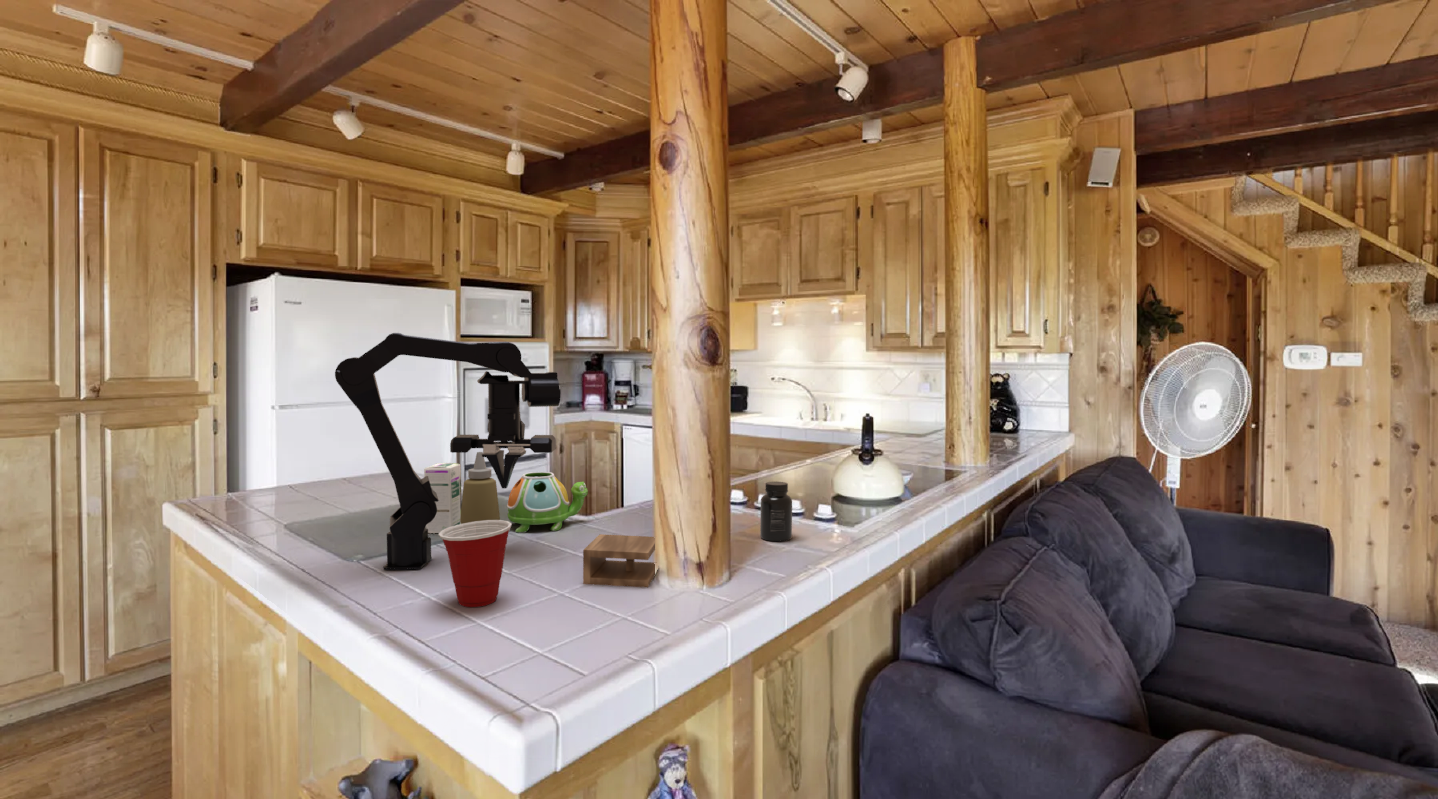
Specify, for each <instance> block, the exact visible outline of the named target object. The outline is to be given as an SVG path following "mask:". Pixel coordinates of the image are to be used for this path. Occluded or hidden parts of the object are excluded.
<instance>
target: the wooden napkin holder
mask: <svg viewBox="0 0 1438 799" xmlns="http://www.w3.org/2000/svg"><path fill="white" fill-rule="evenodd" d="M654 537H655V536H643V535H624V534H623V535H622V534H620V535H619V534H600V533H599V535H597V536H596V537H595V538H593V540H592V541H591V542H590V543H589V544H588V545H587V546H586V547H585V548H584V549H583V551H582V555H583V557H582V562H583V563H582V564H583V565H582V569H583V570H582V574H583V575H582V579H583V580H582V584H583V585H593V584H594V586H595V585H597V586H612V587H613V586H614V587H615V586H616V587H633V588H636V587H637V588H648V587H649V586H650V584H651V583H652V581H653V580H654V578H655V576H656V575H655V564H654V563H655V562H651V561H648V560H649V559H650V558H651V556H652V555H653V553H654V552H655V550H656V549H655V538H654ZM607 559H608V560H607ZM609 559H610V560H609ZM611 559H612V560H611ZM614 559H621V560H614ZM622 559H623V560H622ZM635 560H637V561H635ZM639 560H642V561H639ZM643 560H645V561H643ZM654 575H655V576H654Z"/></svg>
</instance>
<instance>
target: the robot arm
mask: <svg viewBox="0 0 1438 799" xmlns="http://www.w3.org/2000/svg"><path fill="white" fill-rule="evenodd" d="M399 356H409V357H410V356H412V357H419V358H428V359H435V360H436V359H437V360H446V361H454V362H465V363H469V364H473V365H476V366H480V367H484V368H486V369H489V370H494V371H497V372H501V373H509V374H510V375H512V376H514V377H516V378H517V377H518V378H523V380H513V379H512V380H511V379H509V376H508V375H507V374H491V373H490V372H489V371H488V370H487V371H486V370H485V371H484V374H482V376H481V377H479V379H477V383H478V384H479V385H488V386H487V389H488V390H487V392H488V394H487V395H488V396H487V397H488V402H487V403H488V413H487V421H488V422H487V433H488V435H487V438H480V436H479V434H459V435H456V436H454V437H453V438H452V439H451V440H450V445H449V446H450V447H449V448H450V449H449V451H450V453H455V454H456V453H461V454H464V453H466V454H467V453H468V452H470V450H471V449H482V452H483V454H482V457H484V458H486V459H487V461H488V462H489V463H490V466H491V467H492V468H493V471H494V473H495V475H496V478H497V480H498V483H499V485H500V487H501V489H507V488H508V486H509V483H510V481H511V477H512V474H513V473H514V472H513V471H514V468H515V465H516V464H517V462H518V459H519V458H521V457H523V456H524V455H526V453H527V450H526V449H530V450H531V451H532V452H533V453H534V454H537V453H539V454H549V453H553V452H554V451H555V450H556V448H557V440H556V437H555V436H554V434H535V435H533V436H531V438H525V434H526V433H525V431H526V424H525V423H524V422H523V421H522V419H521V410H520V409H521V405H520V403H521V402H520V400H522V403H525V402H527V406H528V407H529V408H533V407H535V408H540V407H542V408H543V407H547V408H548V407H559V406H560V402H561V395H562V394H561V388H560V382H559V379H558V373H557V371H549V372H531V371H530V369H529V368H528V367H527V366H526V364H525V363H524V361H522V352H521V350H520V348H519V347H518V346H517V345H516V344H514V343H513V342H509V341H493V342H492V341H490V342H461V341H455V340H446V339H437V338H432V337H431V338H429V337H423V336H422V337H421V336H415V335H406V334H403V333H400V332H393V333H392V332H391V333H390V334H388V335H387V336H386V337H385V339H383V340H382V341H381V342H379V343H377V344H376V345H374V346H373V347H372V348H370V349H369V350H367V351H366V352H365V353H363V354H362V355H360V356H359V357H356V356H355V357H349V358H345V359H343V360H341V361H340V363H339V364H337V366H336V369H335V371H334V378H335V381H336V383H337V384H338V385H339V386H340V388H341V389H342V391H343V392H344V393H345V395H346V396H347V397H348V399H349V400H350V401H351V402H352V404H353V405H354V407H355V408H356V409H357V410H358V411H359V412H360V415H361V416H362V418H363V421H364V422H365V424H366V427H367V428H368V430H369V432H370V435H371V437H372V439H373V441H374V442H375V445H376V447H377V449H378V450H379V453H380V455H381V457H382V460H383V461H384V463H385V465H386V468H387V470H388V472H389V474H390V476H391V477H392V480H393V483H394V486H395V491H396V495H397V499H398V503H399V508H397V510H395V511H394V513H393V514H391V515H390V517H389V531H388V532H387V533H386V561H387V562H386V564H385V565H383V567H382V569H383V570H421V569H422V568H423V567H424V566H425V565H426V564H428V563H429V562H430V561H431V560H433V559H432V538H431V537H429V533H428V529H426V525H427V524H428V523H430V522H431V521H432V520H433V519H434V518H435V515H436V513H437V507H436V503H435V502H438V501H439V500H438V497H437V493H436V492H435V491H434V490H433V489H432V488H431V485H430V481H429V478H428V476H426V477H423V478H421V477H420V476H419V475H418V473H417V472H416V471H415V470H414V468H413V466H412V464H411V463H412V462H410V459H409V458H408V455H407V452H406V451H405V448H404V446H403V445H402V442H401V441H400V439H399V437H398V435H397V433H396V430H395V428H394V426H393V424H392V421H391V420H390V416H389V415H388V413H387V411H386V409H385V407H384V405H383V402H382V399H381V395H380V390H379V386H378V382H377V378H376V374H375V373H377V372H379V371H380V370H381V369H382V368H384V367H386V365H388V364H389V363H391V362H392V361H394V360H395V359H396V358H398V357H399ZM520 384H521V387H520ZM520 389H521V390H520ZM520 392H521V394H520ZM520 396H521V399H520ZM504 449H507V451H508V452H507V453H506V454H505V450H504Z"/></svg>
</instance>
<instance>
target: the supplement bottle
mask: <svg viewBox="0 0 1438 799" xmlns="http://www.w3.org/2000/svg"><path fill="white" fill-rule="evenodd" d="M764 491H765V494H764V495H763V496H761V499H760V525H759V526H760V527H759V528H760V531H759V532H760V534H759V536H760V538H761V539H763V540H764V541H766V542H767V541H768V542H775V541H780V542H786V540H787V541H789V540H791V539H790V538H792V536H793V499H792V497H791V496H790V495H789V494H788V492H789V484H788V483H787V482H784V481H768V482H767V481H766V482H765V489H764Z"/></svg>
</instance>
